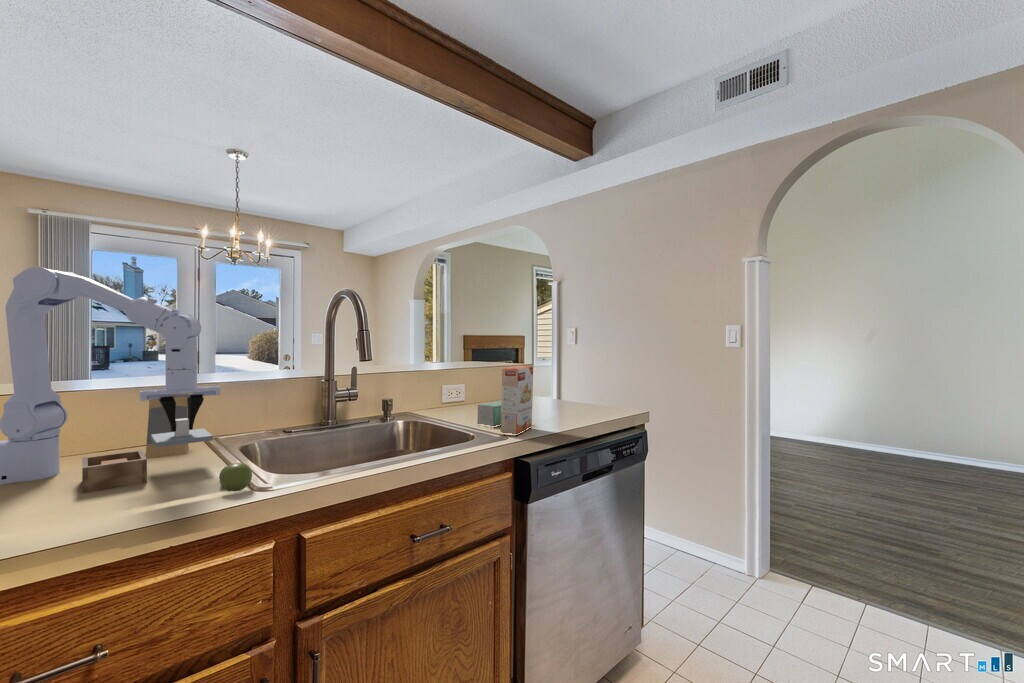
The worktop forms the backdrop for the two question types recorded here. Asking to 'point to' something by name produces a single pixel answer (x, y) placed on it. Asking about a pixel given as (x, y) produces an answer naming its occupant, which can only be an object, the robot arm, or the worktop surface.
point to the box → (489, 413)
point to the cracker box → (516, 399)
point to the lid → (181, 435)
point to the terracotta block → (113, 461)
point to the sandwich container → (164, 427)
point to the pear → (235, 476)
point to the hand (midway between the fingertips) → (181, 430)
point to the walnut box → (113, 471)
